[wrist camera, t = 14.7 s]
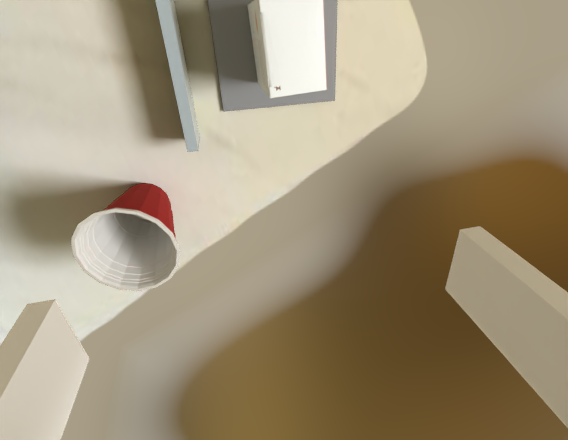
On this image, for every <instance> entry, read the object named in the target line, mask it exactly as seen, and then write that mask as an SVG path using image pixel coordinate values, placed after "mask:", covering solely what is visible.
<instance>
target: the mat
mask: <svg viewBox="0 0 568 440" xmlns="http://www.w3.org/2000/svg"><path fill="white" fill-rule="evenodd" d="M252 1H254V0H208V7H209V14H210V21H211V27H212V34H213V41H214V48H215V55H216V62H217V69H218V76H219V83H220V90H221V97H222V104H223V110H224V111H234V110H244V109H255V108H265V107H275V106H285V105H296V104H306V103H316V102H326V101H335V80H336V38H337V0H324V28H325V53H326V79H327V90H324V91H317V92H310V93H303V94H296V95H290V96H283V97H277V98H269V97H268V95H267V94H266V93H265V91H264V90H263V89H262V87H261V86H260V85H259V83H258V79H257V71H256V64H255V57H254V49H253V42H252V35H251V27H250V20H249V13H248V7H247V5H248V4H249V3H251V2H252Z"/></svg>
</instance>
